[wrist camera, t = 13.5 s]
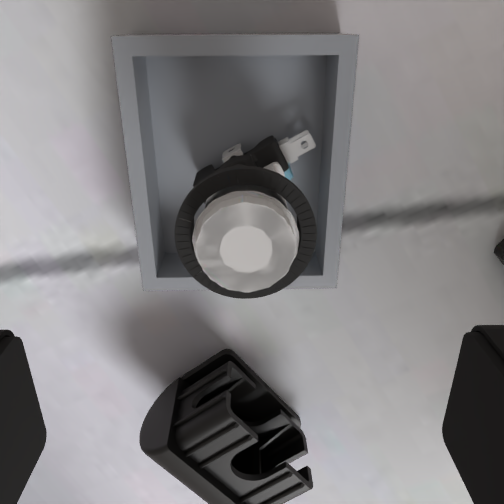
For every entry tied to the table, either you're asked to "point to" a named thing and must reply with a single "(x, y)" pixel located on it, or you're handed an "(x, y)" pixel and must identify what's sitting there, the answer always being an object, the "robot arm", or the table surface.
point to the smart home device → (500, 251)
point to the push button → (248, 221)
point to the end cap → (227, 435)
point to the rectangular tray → (232, 130)
